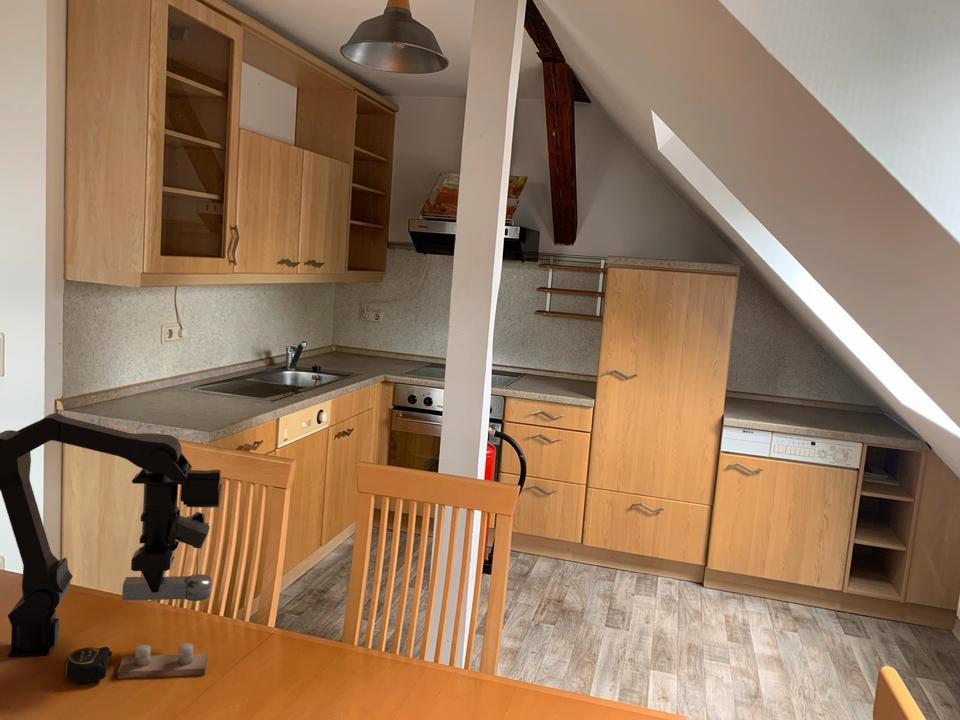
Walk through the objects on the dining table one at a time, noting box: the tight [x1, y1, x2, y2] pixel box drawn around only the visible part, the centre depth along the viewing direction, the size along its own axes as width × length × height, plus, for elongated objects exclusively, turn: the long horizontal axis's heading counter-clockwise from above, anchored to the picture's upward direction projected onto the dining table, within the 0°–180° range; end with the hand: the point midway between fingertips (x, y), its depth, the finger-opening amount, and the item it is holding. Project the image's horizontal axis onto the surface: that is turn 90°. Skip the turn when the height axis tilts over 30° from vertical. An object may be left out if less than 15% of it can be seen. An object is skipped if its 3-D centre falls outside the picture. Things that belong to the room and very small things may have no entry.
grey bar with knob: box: [121, 573, 212, 602], centre depth 141 cm, size 15×5×3 cm, turn 105°
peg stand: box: [117, 642, 209, 679], centre depth 134 cm, size 14×5×4 cm, turn 105°
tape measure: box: [63, 646, 113, 684], centre depth 130 cm, size 7×7×4 cm
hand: (156, 587), depth 140 cm, fingers closed on grey bar with knob, 3 cm apart
